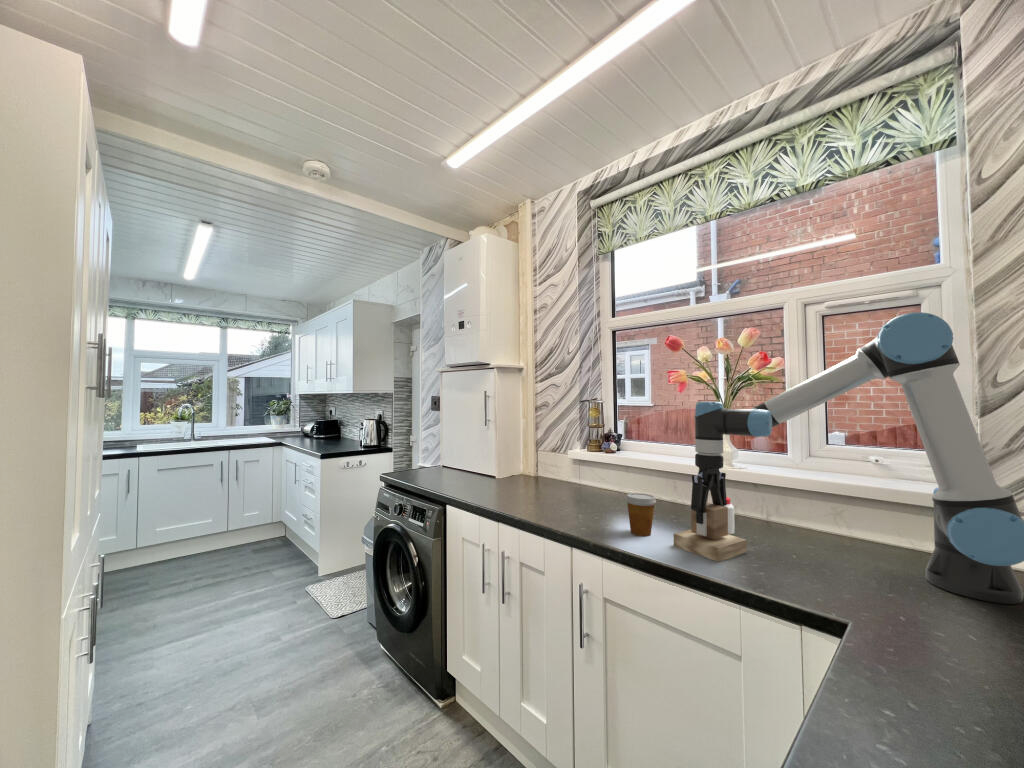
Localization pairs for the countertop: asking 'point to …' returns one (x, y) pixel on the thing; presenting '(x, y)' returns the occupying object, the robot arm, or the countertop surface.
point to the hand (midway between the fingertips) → (709, 532)
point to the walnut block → (713, 521)
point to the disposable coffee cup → (640, 513)
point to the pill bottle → (729, 516)
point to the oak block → (710, 545)
